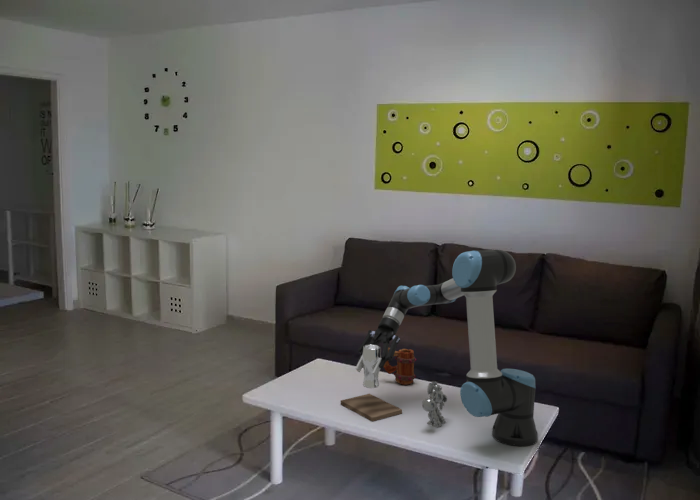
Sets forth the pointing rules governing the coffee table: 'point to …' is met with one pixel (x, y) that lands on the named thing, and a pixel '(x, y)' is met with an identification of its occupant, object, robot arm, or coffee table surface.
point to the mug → (402, 366)
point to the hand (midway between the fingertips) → (366, 372)
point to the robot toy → (434, 404)
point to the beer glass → (370, 365)
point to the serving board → (371, 407)
